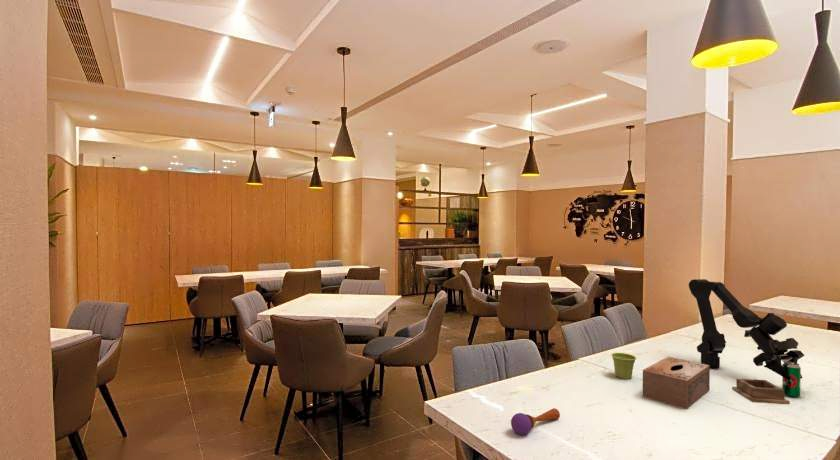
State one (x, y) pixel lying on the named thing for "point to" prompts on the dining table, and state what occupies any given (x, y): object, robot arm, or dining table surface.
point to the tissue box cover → (676, 381)
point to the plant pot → (623, 364)
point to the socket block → (760, 391)
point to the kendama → (531, 420)
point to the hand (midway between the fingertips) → (795, 379)
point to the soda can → (792, 379)
